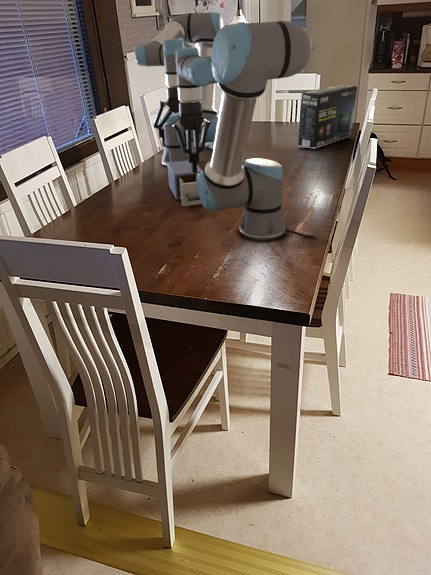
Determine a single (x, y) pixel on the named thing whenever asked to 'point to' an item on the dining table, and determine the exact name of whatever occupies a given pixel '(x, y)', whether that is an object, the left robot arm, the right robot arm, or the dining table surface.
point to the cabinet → (179, 174)
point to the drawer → (188, 190)
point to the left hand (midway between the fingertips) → (180, 144)
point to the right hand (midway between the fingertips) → (194, 171)
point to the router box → (326, 115)
